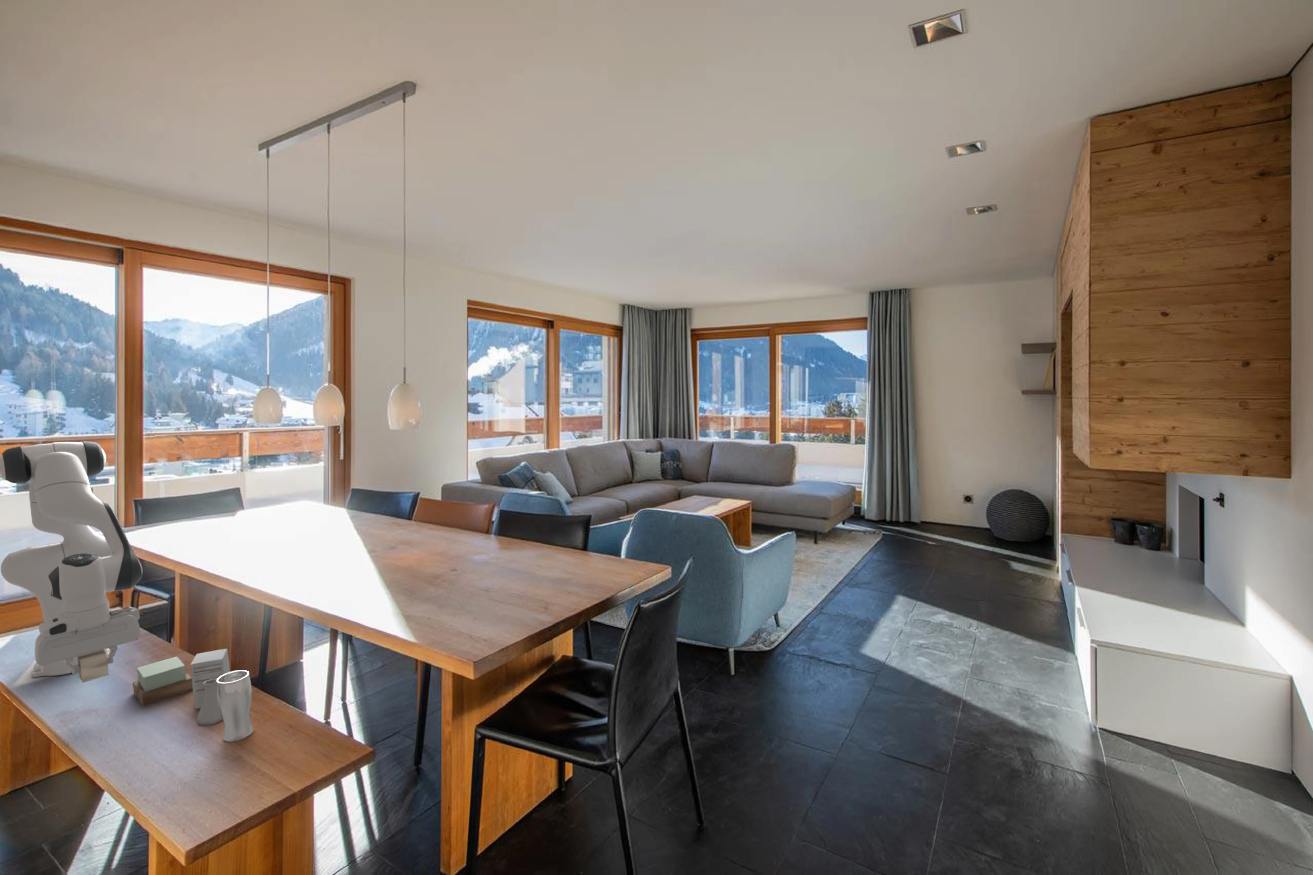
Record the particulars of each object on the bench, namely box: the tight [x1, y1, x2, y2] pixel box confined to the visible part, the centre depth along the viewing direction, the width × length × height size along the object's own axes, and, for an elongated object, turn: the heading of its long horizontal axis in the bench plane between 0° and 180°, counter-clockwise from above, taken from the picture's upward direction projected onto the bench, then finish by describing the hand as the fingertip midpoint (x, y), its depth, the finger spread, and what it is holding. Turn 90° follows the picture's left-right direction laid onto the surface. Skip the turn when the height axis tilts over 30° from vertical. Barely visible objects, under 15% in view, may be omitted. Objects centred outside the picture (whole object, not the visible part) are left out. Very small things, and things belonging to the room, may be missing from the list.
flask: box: [195, 678, 223, 726], centre depth 158 cm, size 7×7×10 cm
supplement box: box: [189, 648, 231, 710], centre depth 167 cm, size 7×7×13 cm
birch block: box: [77, 650, 110, 683], centre depth 160 cm, size 5×5×6 cm
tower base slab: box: [132, 672, 193, 707], centre depth 172 cm, size 11×11×4 cm
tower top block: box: [136, 656, 187, 692], centre depth 172 cm, size 9×9×4 cm
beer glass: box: [217, 669, 254, 743], centre depth 149 cm, size 7×7×15 cm
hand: (92, 667), depth 160 cm, fingers closed on birch block, 5 cm apart
